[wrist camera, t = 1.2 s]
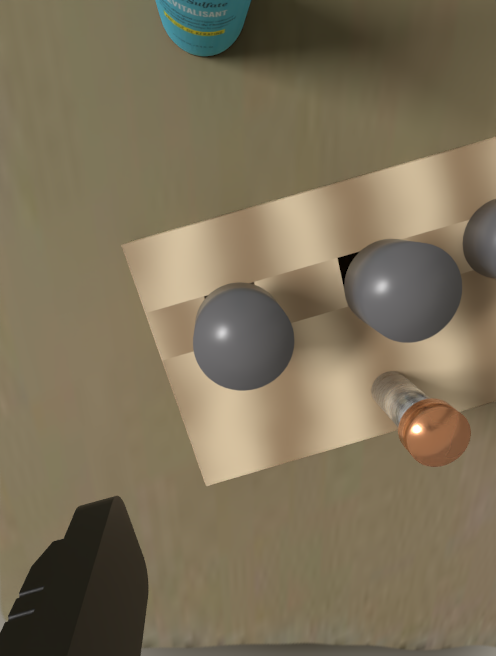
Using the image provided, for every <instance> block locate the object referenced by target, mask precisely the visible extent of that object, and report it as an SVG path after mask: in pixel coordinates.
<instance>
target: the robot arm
mask: <svg viewBox="0 0 496 656" xmlns="http://www.w3.org/2000/svg"><path fill="white" fill-rule="evenodd" d="M19 595H20V596H19V598H17V599H16V601H15V603H14V605H13V607H12V609H11V611H10V613H9V615H8V618H9V620H8V622H5V624H4V626H3V629H2V630H1V632H0V656H140V655H141V647H142V639H143V631H144V623H145V616H146V608H147V600H148V575H147V569H146V564H145V560H144V557H143V554H142V551H141V549H140V546H139V543H138V540H137V538H136V535H135V532H134V529H133V527H132V524H131V521H130V518H129V515H128V513H127V510H126V507H125V505H124V502H123V501H122V499H121V498H120V497H119V496H114V497H111V498H107V499H103V500H100V501H96V502H92V503H89V504H85V505H81V506H79V507H78V508H77V509H76V511H75V513H74V515H73V518H72V520H71V523H70V525H69V527H68V530H67V532H66V535H65V537H64V539H61V540H57V541H54V542H52V543H51V545H50V546H49V547H48V548H47V549H46V550H45V552H44V553H43V554H42V555H41V556H40V557H39V559H38V560H37V561H36V562H35V563H34V564H33V565H32V567H31V569H30V571H29V573H28V575H27V577H26V579H25V582H24V584H23V586H22V588H21V590H20V592H19Z"/></svg>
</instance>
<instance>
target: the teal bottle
mask: <svg viewBox="0 0 496 656" xmlns="http://www.w3.org/2000/svg"><path fill="white" fill-rule="evenodd" d="M250 3H251V0H156V4H157V7H158V11H159V15H160V18H161V21H162V24H163V26H164V28H165V30H166V32H167V34H168V35H169V37H170V38H171V39H172V40H173V42H174V43H175V44H177V45H178V46H179V47H180V48H181V49H183V50H184V51H186V52H188V53H190V54H193V55H198V56H212V55H216V54H219V53H221V52H223V51H225V50H226V49H228V48H229V47H230V46H231V45H232V44H233V43H234V42H235V41H236V39H237V37H238V36H239V34H240V32H241V30H242V28H243V25H244V22H245V18H246V15H247V12H248V9H249V6H250Z"/></svg>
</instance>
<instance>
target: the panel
mask: <svg viewBox="0 0 496 656" xmlns="http://www.w3.org/2000/svg"><path fill="white" fill-rule="evenodd" d="M493 199H496V137H493V138H489V139H486V140H482V141H479V142H476V143H472V144H469V145H465V146H462V147H458V148H455V149H451V150H448V151H444V152H441V153H437V154H434V155H430V156H427V157H423V158H420V159H416V160H413V161H409V162H406V163H402V164H399V165H395V166H392V167H388V168H385V169H381V170H378V171H374V172H371V173H367V174H364V175H360V176H357V177H353V178H350V179H346V180H343V181H339V182H336V183H332V184H329V185H325V186H322V187H318V188H315V189H311V190H308V191H304V192H301V193H297V194H294V195H290V196H287V197H283V198H280V199H276V200H273V201H269V202H266V203H262V204H259V205H255V206H252V207H248V208H245V209H241V210H238V211H234V212H231V213H227V214H224V215H220V216H217V217H214V218H210V219H207V220H203V221H200V222H196V223H193V224H189V225H186V226H182V227H179V228H175V229H172V230H168V231H165V232H161V233H158V234H154V235H151V236H147V237H144V238H140V239H137V240H133V241H131V242H128V243H125V244H123V245H122V248H123V251H124V254H125V257H126V260H127V262H128V265H129V268H130V271H131V274H132V277H133V279H134V282H135V285H136V288H137V291H138V294H139V297H140V299H141V302H142V305H143V308H144V311H145V314H146V316H147V319H148V322H149V325H150V328H151V331H152V333H153V336H154V339H155V342H156V345H157V348H158V351H159V353H160V356H161V359H162V362H163V365H164V368H165V370H166V373H167V376H168V379H169V382H170V385H171V387H172V390H173V393H174V396H175V399H176V402H177V405H178V407H179V410H180V413H181V416H182V419H183V422H184V424H185V427H186V430H187V433H188V436H189V439H190V442H191V444H192V447H193V450H194V453H195V456H196V459H197V461H198V464H199V467H200V470H201V473H202V476H203V478H204V481H205V484H206V486H208V485H212V484H215V483H219V482H222V481H225V480H229V479H232V478H236V477H239V476H242V475H246V474H249V473H253V472H256V471H259V470H263V469H266V468H270V467H273V466H276V465H280V464H283V463H287V462H290V461H293V460H297V459H300V458H304V457H307V456H311V455H314V454H317V453H321V452H324V451H328V450H331V449H334V448H338V447H341V446H345V445H348V444H351V443H355V442H358V441H362V440H365V439H368V438H372V437H375V436H379V435H382V434H385V433H389V432H392V431H396V430H398V427H397V426H396V425H395V423H394V422H393V421H392V420H391V419H390V418H389V416H388V415H387V414H386V413H385V412H384V411H383V410H382V408H381V407H380V406H379V405H378V404H377V403H376V402H375V400H374V399H373V397H372V393H371V389H372V385H373V383H374V381H375V379H376V378H377V377H378V376H380V375H381V374H383V373H385V372H389V371H395V372H399V373H401V374H402V375H403V376H405V377H406V378H407V379H408V380H409V381H411V382H412V383H413V384H414V385H415V386H416V387H418V388H419V389H420V390H421V391H422V392H424V393H425V394H426V395H427V396H428V397H429V398H433V399H440V400H443V401H445V402H447V403H448V404H450V405H451V406H452V407H453V408H455V409H456V410H457V411H458V412H460V411H464V410H467V409H471V408H474V407H477V406H481V405H484V404H488V403H491V402H494V401H496V279H495V278H490V277H486V276H483V275H481V274H479V273H477V272H476V271H474V270H473V269H472V268H471V267H470V265H469V264H468V262H467V260H466V258H465V256H464V252H463V235H464V231H465V228H466V226H467V223H468V222H469V220H470V218H471V217H472V215H473V214H474V213H475V212H476V211H477V210H478V209H479V208H480V207H481V206H482V205H484V204H485V203H487V202H489V201H491V200H493ZM383 239H400V240H407V241H414V242H421V243H427V244H432V245H434V246H437V247H439V248H441V249H443V250H444V251H445V252H447V253H448V254H449V255H450V256H451V257H452V258H453V260H454V261H455V262H456V264H457V266H458V268H459V271H460V274H461V278H462V296H461V301H460V304H459V307H458V309H457V311H456V313H455V315H454V316H453V318H452V319H451V321H450V322H449V323H448V324H447V325H446V326H445V327H444V328H443V329H442V330H441V331H440V332H438V333H437V334H435V335H434V336H432V337H430V338H428V339H425V340H422V341H418V342H412V343H402V342H397V341H393V340H391V339H388V338H386V337H385V336H383V335H382V334H380V333H379V332H377V331H376V330H375V329H373V328H372V327H370V326H369V325H368V324H366V323H365V322H363V321H362V320H361V319H359V318H358V317H357V316H356V315H355V314H354V313H353V312H352V311H351V309H350V307H349V305H348V303H347V301H346V297H345V292H344V286H343V281H342V277H341V272H340V267H339V263H338V257H342V256H345V255H349V254H352V253H356V252H359V251H361V250H362V249H363V248H365V247H366V246H368V245H370V244H372V243H374V242H376V241H379V240H383ZM238 282H242V283H251V284H254V285H257V286H259V287H261V288H263V289H264V290H266V291H267V292H268V293H270V294H271V295H272V296H273V298H274V299H275V300H276V301H277V303H278V304H279V305H280V307H281V308H282V309H283V311H284V312H285V313H286V315H287V316H288V318H289V320H290V322H291V324H292V327H293V332H294V350H293V354H292V357H291V360H290V362H289V364H288V366H287V367H286V369H285V370H284V371H283V372H282V373H281V375H280V376H279V377H277V378H276V379H275V380H274V381H272V382H271V383H269V384H267V385H265V386H263V387H260V388H258V389H253V390H246V391H238V390H231V389H228V388H225V387H222V386H220V385H218V384H216V383H215V382H213V381H212V380H211V379H209V378H208V377H207V376H206V375H205V374H204V372H203V371H202V370H201V368H200V367H199V365H198V363H197V361H196V358H195V355H194V350H193V336H194V328H195V320H196V315H197V312H198V310H199V307H200V305H201V304H202V302H203V301H204V299H205V298H206V297H207V296H208V295H209V294H210V293H211V292H213V291H214V290H216V289H217V288H219V287H221V286H224V285H226V284H230V283H238Z"/></svg>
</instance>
